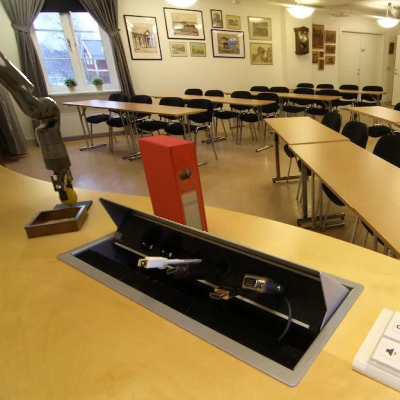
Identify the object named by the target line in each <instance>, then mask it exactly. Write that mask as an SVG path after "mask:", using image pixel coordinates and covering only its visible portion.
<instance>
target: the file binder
mask: <svg viewBox="0 0 400 400" xmlns="http://www.w3.org/2000/svg"><path fill="white" fill-rule="evenodd" d="M137 144H138V147H139V152H140V157H141V160H142V161H141V162H142V166H143V170H144V175H145V180H146V185H147V188H148V189H147V190H148V192H149V199H150V203H151V207H152V211H153V216H154V215H156V216H159V217H162V218H165V219H168V220H171V221H174V222H177V223H180V224H183V225H186V226H189V227H193V228H196V229H199V230H202V231H206V232H208V233H209V229H208V222H207V216H206V209H205V203H204V194H203V189H202V182H201V175H200V169H199V168H200V167H199V162H198V156H197V149H196V142H195V141H191V140H187V139H183V138H178V137H174V136H170V135H165V134H159V135H151V136H146V137H140V138H137Z"/></svg>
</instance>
